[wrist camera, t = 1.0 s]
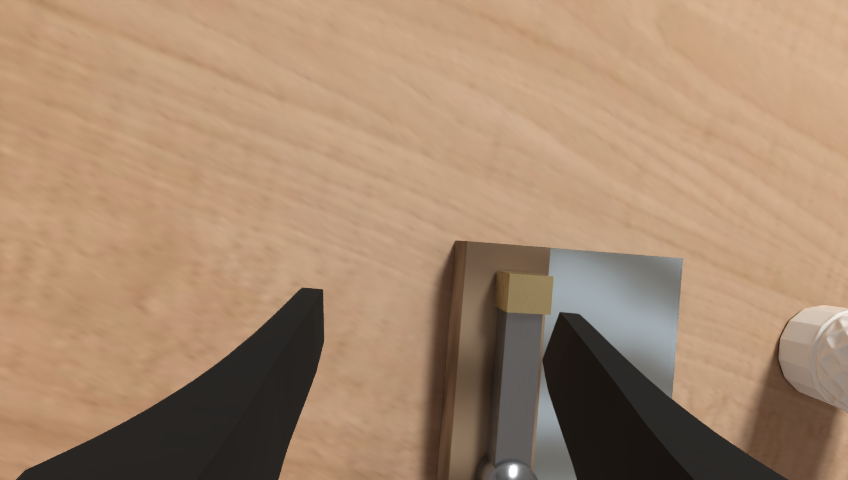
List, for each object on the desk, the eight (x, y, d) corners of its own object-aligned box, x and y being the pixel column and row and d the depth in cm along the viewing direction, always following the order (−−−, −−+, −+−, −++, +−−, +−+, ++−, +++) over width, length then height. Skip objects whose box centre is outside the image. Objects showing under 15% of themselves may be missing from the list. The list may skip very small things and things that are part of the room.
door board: (647, 486, 27) (683, 518, 24) (435, 490, 25) (445, 525, 22) (665, 257, 27) (703, 260, 24) (455, 240, 25) (467, 241, 22)
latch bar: (524, 498, 22) (539, 524, 20) (474, 499, 22) (484, 526, 20) (542, 273, 22) (559, 277, 20) (491, 269, 22) (504, 273, 20)
